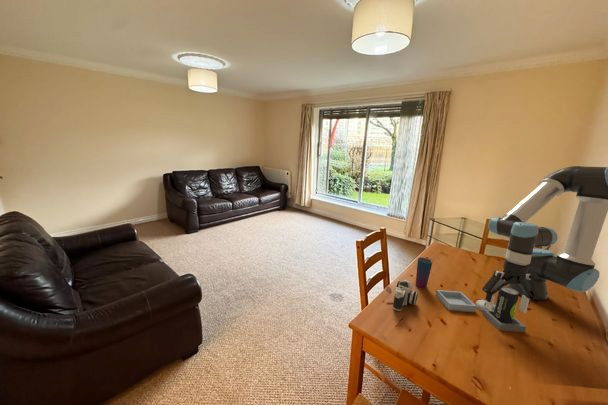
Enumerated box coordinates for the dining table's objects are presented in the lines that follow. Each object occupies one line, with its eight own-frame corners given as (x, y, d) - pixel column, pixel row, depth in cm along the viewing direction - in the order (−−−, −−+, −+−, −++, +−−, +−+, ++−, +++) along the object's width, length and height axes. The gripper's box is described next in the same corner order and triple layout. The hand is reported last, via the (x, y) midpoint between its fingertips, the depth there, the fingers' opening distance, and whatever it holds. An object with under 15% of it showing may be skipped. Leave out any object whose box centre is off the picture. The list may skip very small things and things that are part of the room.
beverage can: (488, 320, 103) (496, 287, 101) (497, 317, 106) (505, 285, 103) (505, 330, 98) (513, 295, 95) (514, 326, 100) (522, 292, 98)
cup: (429, 291, 123) (434, 263, 121) (415, 289, 125) (419, 261, 122) (425, 285, 130) (430, 258, 127) (412, 282, 131) (416, 256, 128)
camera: (411, 316, 103) (414, 294, 101) (390, 308, 108) (393, 287, 106) (417, 299, 116) (420, 279, 114) (398, 292, 121) (401, 274, 119)
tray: (459, 297, 120) (460, 291, 119) (475, 312, 108) (476, 306, 108) (435, 295, 120) (436, 289, 120) (448, 310, 109) (449, 303, 108)
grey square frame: (491, 304, 115) (493, 298, 115) (524, 332, 97) (526, 325, 96) (469, 302, 116) (471, 296, 115) (498, 330, 97) (500, 323, 97)
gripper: (540, 260, 100) (528, 307, 104) (478, 255, 101) (468, 302, 105) (558, 268, 93) (544, 318, 97) (491, 262, 94) (480, 313, 98)
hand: (505, 310), depth 101 cm, fingers open, 13 cm apart
